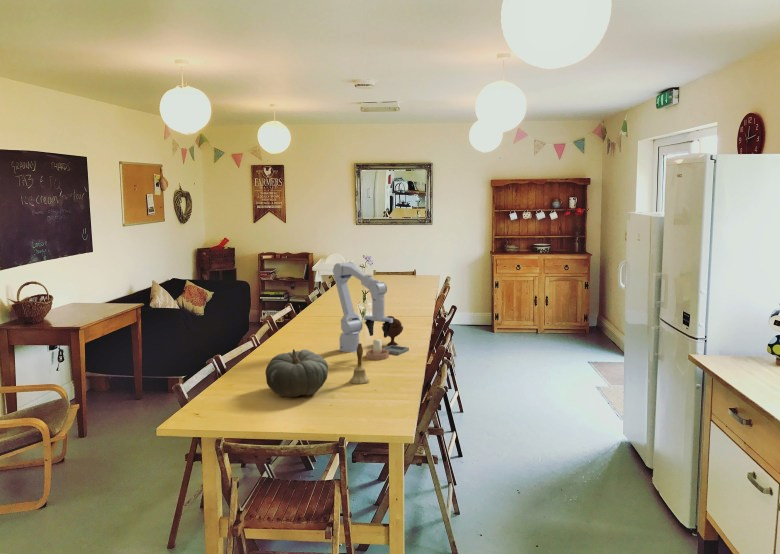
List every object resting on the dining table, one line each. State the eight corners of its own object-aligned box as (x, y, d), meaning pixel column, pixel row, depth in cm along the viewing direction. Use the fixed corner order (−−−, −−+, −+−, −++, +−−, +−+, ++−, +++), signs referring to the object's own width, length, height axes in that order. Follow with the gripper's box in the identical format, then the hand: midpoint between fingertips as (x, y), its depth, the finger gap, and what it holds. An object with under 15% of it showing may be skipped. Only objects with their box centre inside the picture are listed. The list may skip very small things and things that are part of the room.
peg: (371, 357, 290) (371, 340, 289) (376, 355, 293) (376, 339, 292) (378, 358, 288) (378, 341, 287) (383, 356, 291) (383, 340, 290)
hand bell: (354, 377, 259) (354, 340, 257) (372, 379, 256) (372, 342, 254) (346, 382, 252) (345, 345, 250) (364, 385, 249) (364, 346, 247)
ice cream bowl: (385, 348, 309) (385, 318, 307) (379, 342, 320) (379, 314, 318) (405, 346, 312) (405, 317, 310) (399, 341, 323) (399, 313, 321)
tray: (380, 353, 299) (380, 349, 299) (391, 349, 307) (391, 345, 307) (398, 356, 294) (398, 352, 293) (408, 351, 302) (408, 347, 302)
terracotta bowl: (362, 358, 289) (362, 352, 288) (374, 353, 298) (373, 347, 297) (381, 362, 283) (381, 355, 283) (392, 356, 292) (392, 350, 292)
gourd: (317, 371, 258) (314, 334, 252) (340, 398, 237) (338, 357, 231) (259, 386, 247) (255, 347, 241) (278, 415, 226) (275, 373, 220)
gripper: (360, 308, 287) (361, 336, 289) (388, 310, 281) (388, 339, 282) (368, 305, 293) (368, 333, 295) (395, 308, 287) (395, 336, 289)
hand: (378, 336), depth 289 cm, fingers open, 7 cm apart
